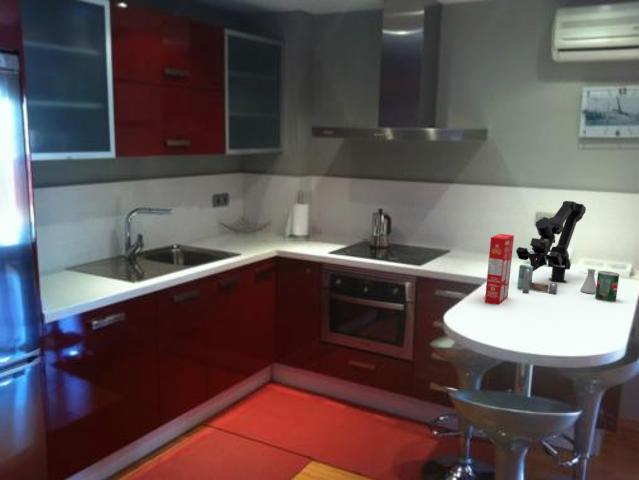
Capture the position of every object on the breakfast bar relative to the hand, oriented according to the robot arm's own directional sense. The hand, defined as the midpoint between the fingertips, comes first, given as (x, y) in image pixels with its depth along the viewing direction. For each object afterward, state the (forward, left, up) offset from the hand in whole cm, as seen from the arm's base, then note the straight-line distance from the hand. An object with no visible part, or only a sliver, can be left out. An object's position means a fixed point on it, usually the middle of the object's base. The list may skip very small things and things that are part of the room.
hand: (531, 271), depth 255 cm
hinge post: (+5, +8, -8) cm, 13 cm away
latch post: (+9, -3, -8) cm, 12 cm away
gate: (+3, +1, -8) cm, 8 cm away
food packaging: (+26, -17, -8) cm, 33 cm away
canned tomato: (+8, +28, -8) cm, 31 cm away
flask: (-4, +25, -8) cm, 27 cm away
